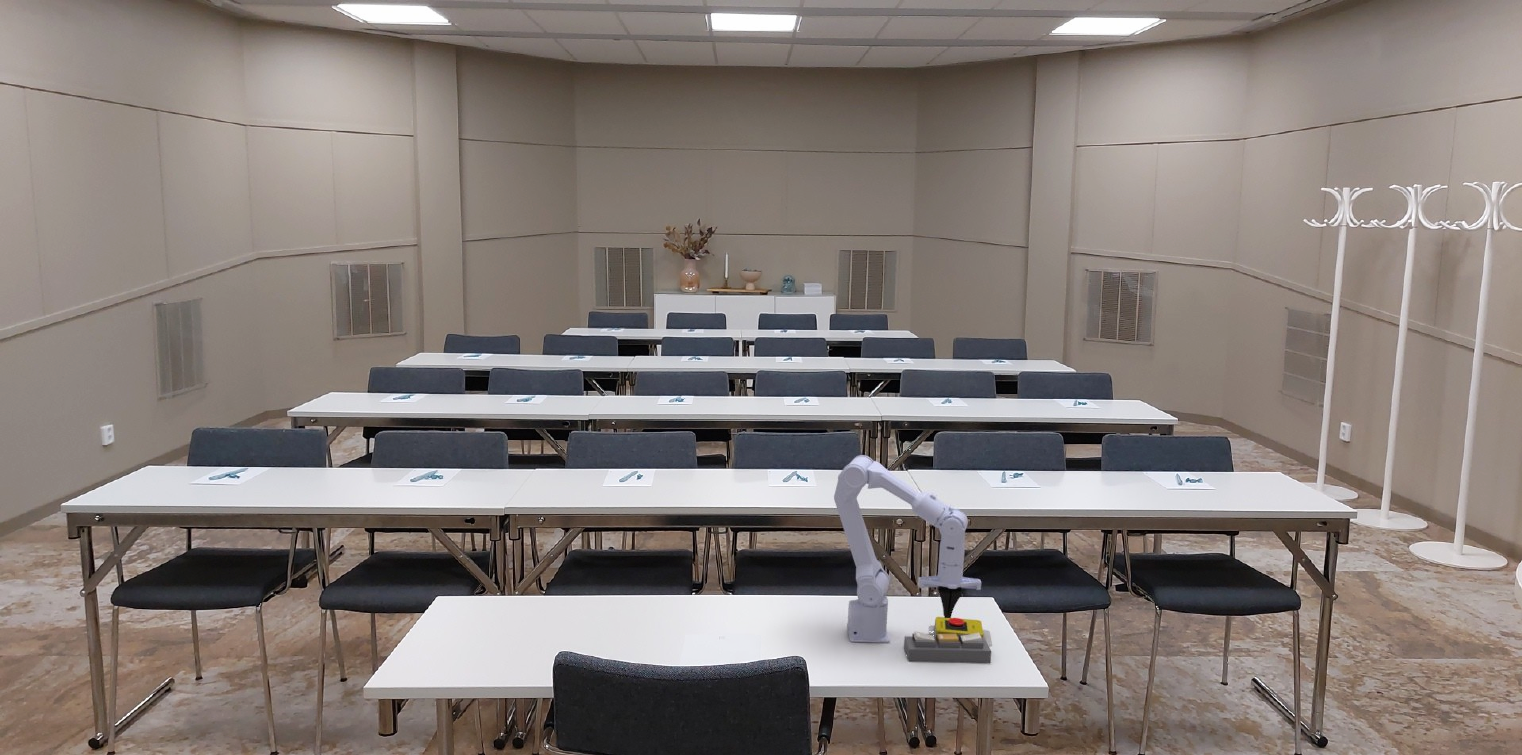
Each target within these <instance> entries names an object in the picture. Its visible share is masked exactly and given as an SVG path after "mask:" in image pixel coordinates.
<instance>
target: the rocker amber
mask: <svg viewBox="0 0 1522 755" xmlns="http://www.w3.org/2000/svg"><path fill="white" fill-rule="evenodd" d="M937 639H938V641H949V642H958V637H957V635H956V633H955V634H937Z"/></svg>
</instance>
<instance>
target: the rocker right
mask: <svg viewBox="0 0 1522 755" xmlns="http://www.w3.org/2000/svg"><path fill="white" fill-rule="evenodd" d="M960 637H961V641H962V642H982V638H981V636H980V634H979V633H974V634H969V635H963V636H960Z"/></svg>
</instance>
